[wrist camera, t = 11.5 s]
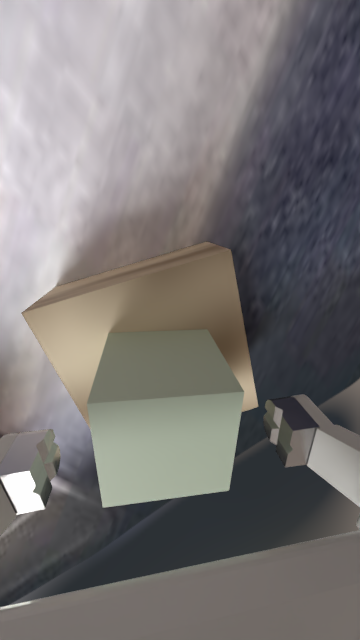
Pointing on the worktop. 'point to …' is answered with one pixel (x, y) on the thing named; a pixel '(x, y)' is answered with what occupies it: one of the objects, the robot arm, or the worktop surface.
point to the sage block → (163, 416)
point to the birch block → (143, 314)
